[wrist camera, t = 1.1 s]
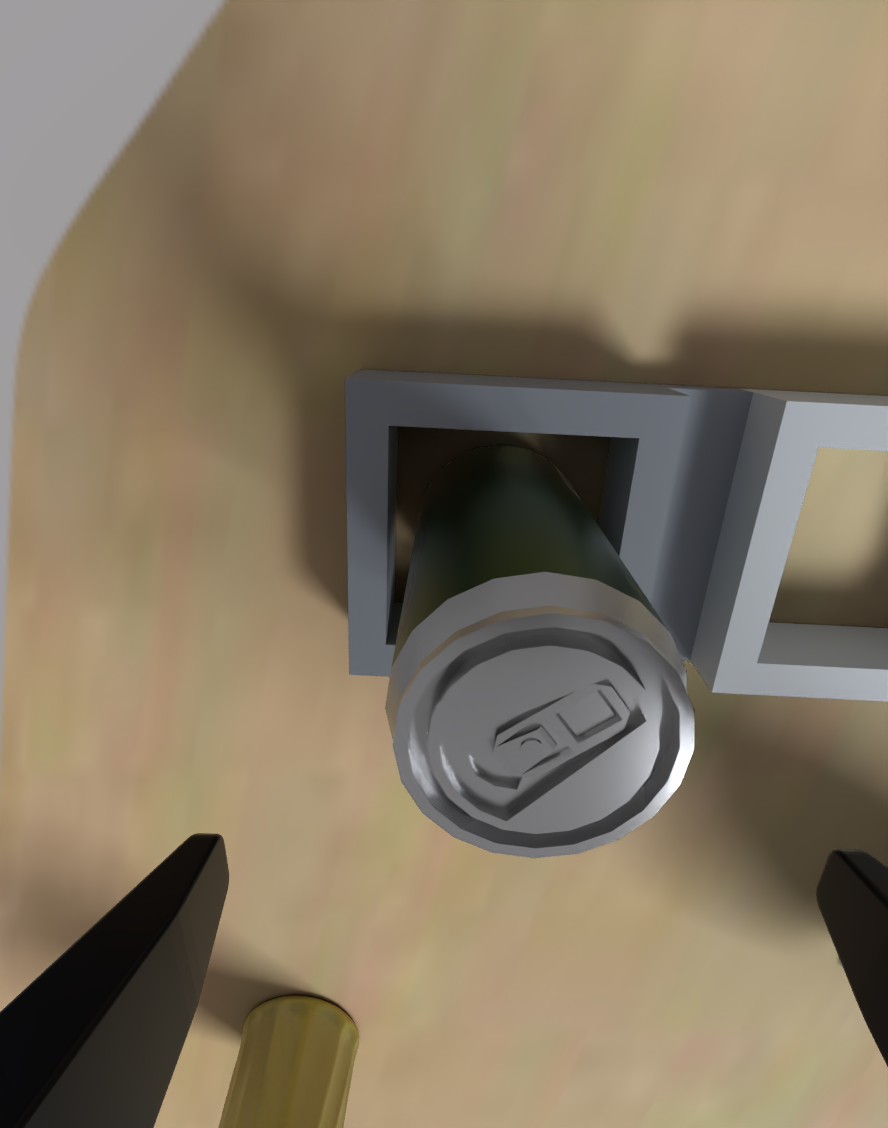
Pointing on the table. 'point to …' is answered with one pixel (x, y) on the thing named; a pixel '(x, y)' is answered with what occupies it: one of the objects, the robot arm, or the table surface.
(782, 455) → the grey double square frame
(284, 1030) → the vase
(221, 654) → the table surface
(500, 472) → the beer can
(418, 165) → the table surface
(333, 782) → the table surface
